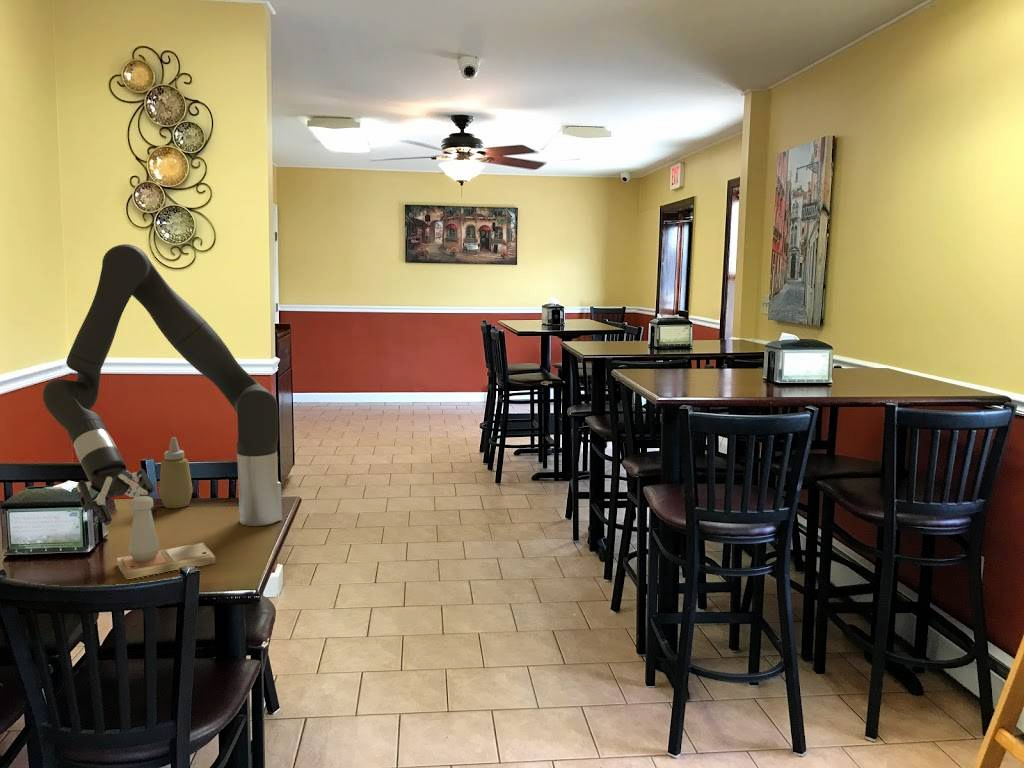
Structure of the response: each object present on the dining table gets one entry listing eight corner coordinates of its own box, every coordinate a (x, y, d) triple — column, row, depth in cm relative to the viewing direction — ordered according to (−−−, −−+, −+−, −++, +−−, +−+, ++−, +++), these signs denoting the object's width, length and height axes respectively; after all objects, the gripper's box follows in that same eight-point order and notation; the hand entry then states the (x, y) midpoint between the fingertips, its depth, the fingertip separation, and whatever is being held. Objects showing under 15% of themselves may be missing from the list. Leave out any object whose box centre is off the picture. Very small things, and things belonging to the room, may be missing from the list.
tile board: (203, 549, 171) (202, 540, 170) (215, 563, 163) (214, 554, 162) (117, 564, 161) (117, 556, 161) (126, 580, 153) (125, 571, 153)
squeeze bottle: (187, 510, 198) (184, 441, 196) (154, 510, 198) (151, 441, 195) (197, 501, 206) (194, 434, 204) (166, 501, 206) (163, 434, 203)
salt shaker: (147, 565, 156) (144, 502, 155) (122, 562, 157) (118, 500, 156) (165, 554, 162) (162, 494, 160) (141, 552, 163) (138, 492, 161)
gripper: (69, 451, 158) (100, 516, 153) (137, 439, 170) (168, 500, 165) (58, 472, 162) (88, 536, 157) (126, 459, 174) (156, 519, 169)
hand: (129, 517), depth 161 cm, fingers open, 8 cm apart
